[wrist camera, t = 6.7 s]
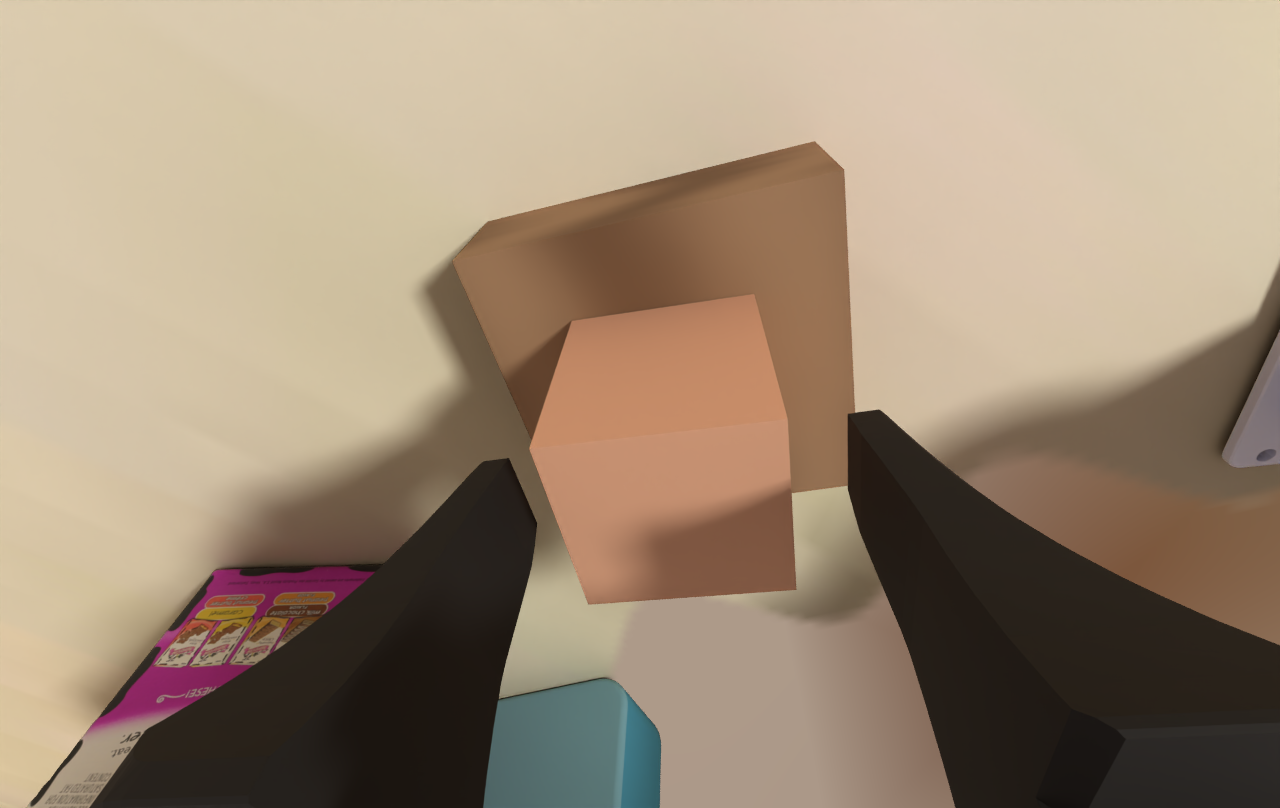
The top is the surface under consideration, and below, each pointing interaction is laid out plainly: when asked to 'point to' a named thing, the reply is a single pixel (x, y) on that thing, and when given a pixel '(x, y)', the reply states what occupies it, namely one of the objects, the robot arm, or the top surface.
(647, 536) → the terracotta block
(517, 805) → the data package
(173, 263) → the top surface
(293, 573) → the candy bar box
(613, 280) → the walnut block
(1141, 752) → the robot arm
